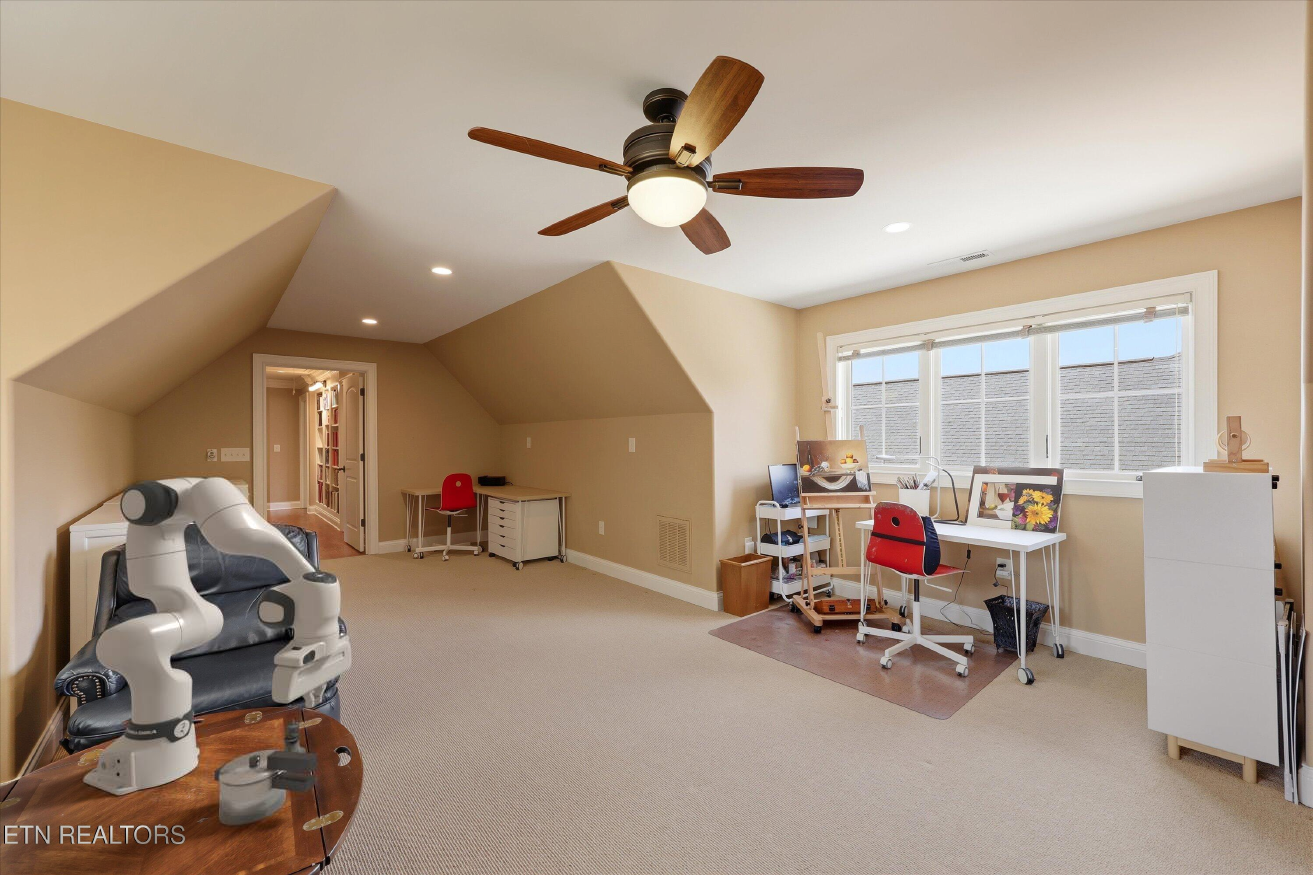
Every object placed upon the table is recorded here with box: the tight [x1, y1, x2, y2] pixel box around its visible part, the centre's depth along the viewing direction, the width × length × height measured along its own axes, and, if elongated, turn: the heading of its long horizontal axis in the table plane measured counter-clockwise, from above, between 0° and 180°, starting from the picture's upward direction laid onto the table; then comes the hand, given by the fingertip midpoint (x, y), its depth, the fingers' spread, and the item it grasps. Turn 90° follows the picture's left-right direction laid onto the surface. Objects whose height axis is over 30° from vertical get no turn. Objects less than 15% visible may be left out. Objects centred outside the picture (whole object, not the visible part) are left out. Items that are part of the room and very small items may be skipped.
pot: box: [214, 763, 316, 826], centre depth 125 cm, size 23×12×8 cm, turn 80°
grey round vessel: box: [283, 718, 307, 773], centre depth 141 cm, size 6×6×12 cm
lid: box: [218, 749, 318, 786], centre depth 125 cm, size 20×12×4 cm, turn 84°
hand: (313, 705), depth 130 cm, fingers closed
